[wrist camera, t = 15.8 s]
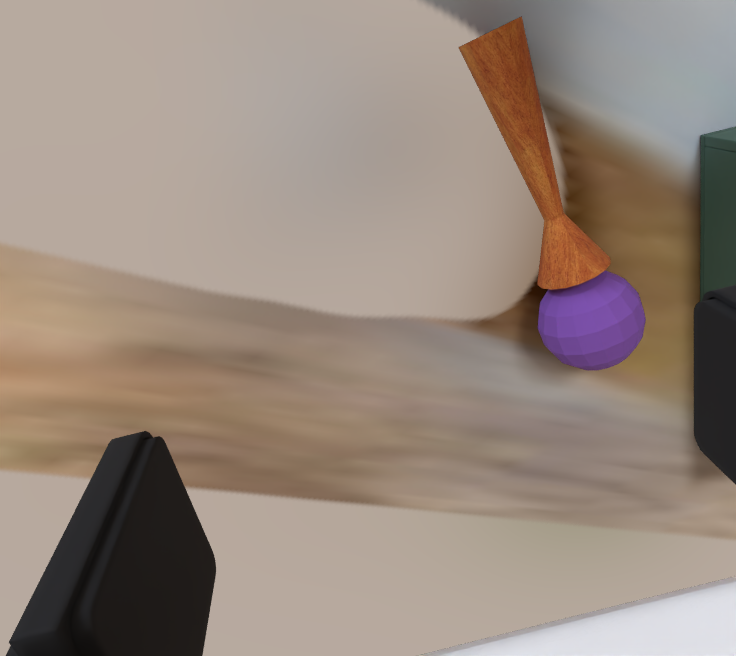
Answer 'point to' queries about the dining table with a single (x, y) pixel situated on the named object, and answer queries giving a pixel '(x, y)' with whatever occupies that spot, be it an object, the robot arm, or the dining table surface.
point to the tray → (718, 210)
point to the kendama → (555, 217)
